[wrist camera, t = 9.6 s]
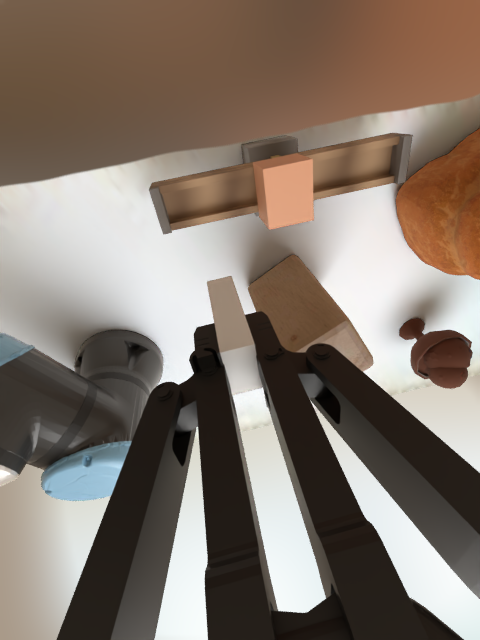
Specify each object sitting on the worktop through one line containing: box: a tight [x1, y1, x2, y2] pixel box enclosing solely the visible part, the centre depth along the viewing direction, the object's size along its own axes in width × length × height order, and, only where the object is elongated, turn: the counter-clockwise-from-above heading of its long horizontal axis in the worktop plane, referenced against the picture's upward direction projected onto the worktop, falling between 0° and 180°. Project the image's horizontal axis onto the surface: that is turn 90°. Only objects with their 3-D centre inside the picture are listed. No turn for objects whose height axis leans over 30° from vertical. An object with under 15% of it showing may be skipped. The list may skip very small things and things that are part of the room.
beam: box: [149, 133, 413, 234], centre depth 38 cm, size 30×8×9 cm, turn 99°
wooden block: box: [248, 255, 373, 372], centre depth 45 cm, size 10×10×20 cm
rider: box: [253, 153, 314, 230], centre depth 33 cm, size 5×6×6 cm
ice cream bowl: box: [399, 318, 473, 389], centre depth 58 cm, size 11×11×15 cm
